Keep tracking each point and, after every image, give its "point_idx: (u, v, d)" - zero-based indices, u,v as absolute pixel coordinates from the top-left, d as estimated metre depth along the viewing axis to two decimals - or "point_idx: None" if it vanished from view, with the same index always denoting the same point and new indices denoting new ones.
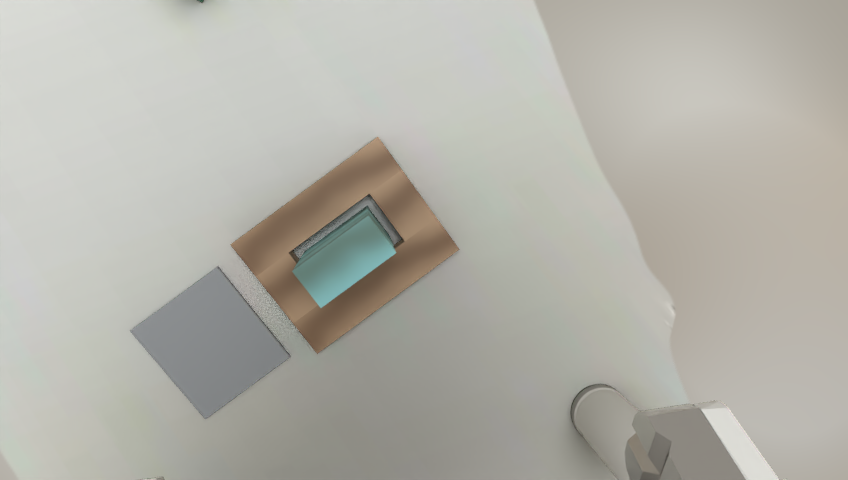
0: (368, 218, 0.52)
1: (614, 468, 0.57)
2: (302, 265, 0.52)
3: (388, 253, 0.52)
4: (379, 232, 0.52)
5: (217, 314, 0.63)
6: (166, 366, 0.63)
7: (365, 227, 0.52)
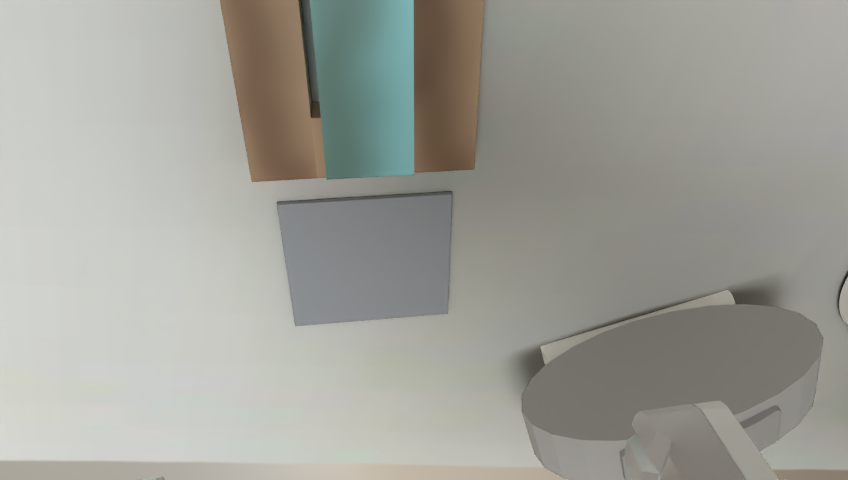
0: None
1: None
2: (327, 159, 0.27)
3: (405, 6, 0.24)
4: None
5: (338, 238, 0.43)
6: (361, 315, 0.48)
7: (328, 15, 0.24)
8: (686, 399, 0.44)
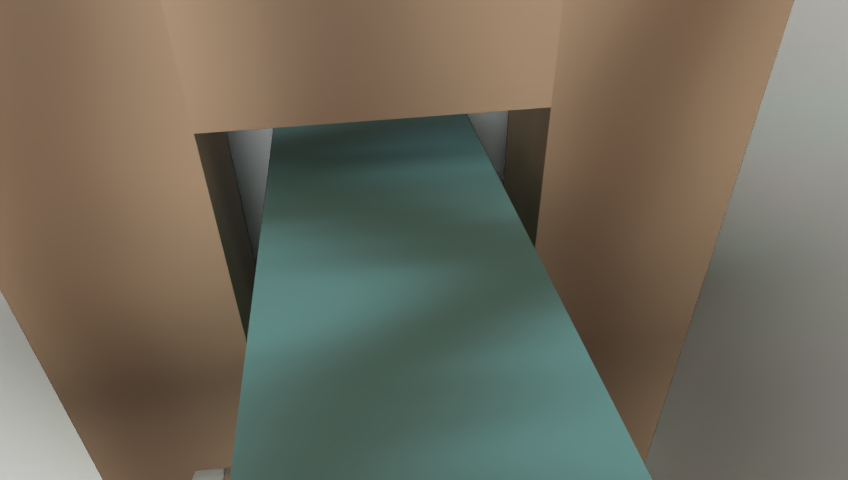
0: None
1: None
2: None
3: None
4: None
5: None
6: None
7: None
8: None
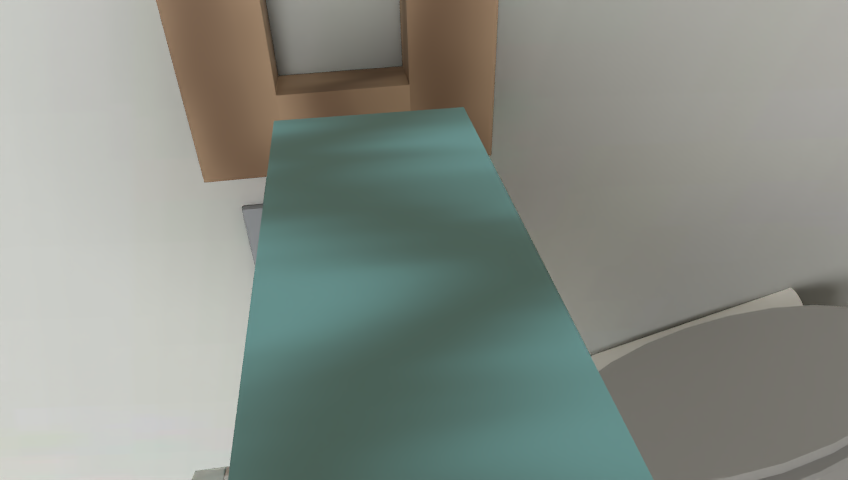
0: None
1: None
2: None
3: None
4: None
5: None
6: None
7: None
8: (758, 428, 0.36)
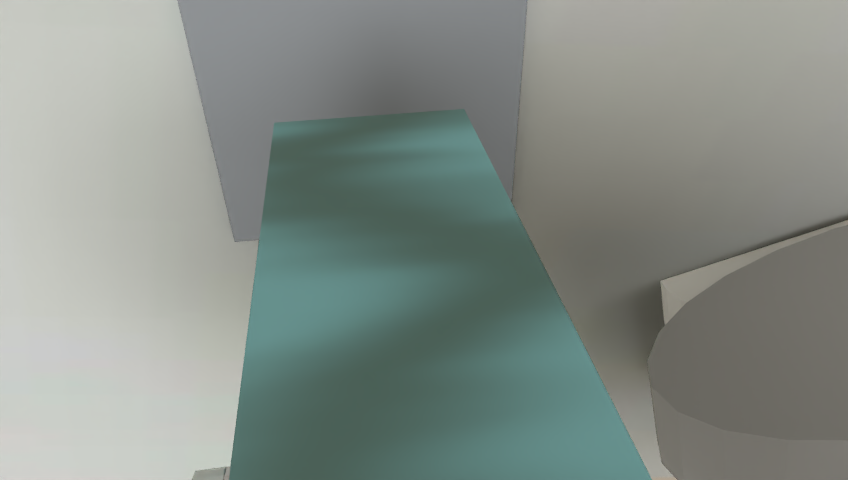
0: None
1: None
2: None
3: None
4: None
5: (303, 49, 0.22)
6: None
7: None
8: None
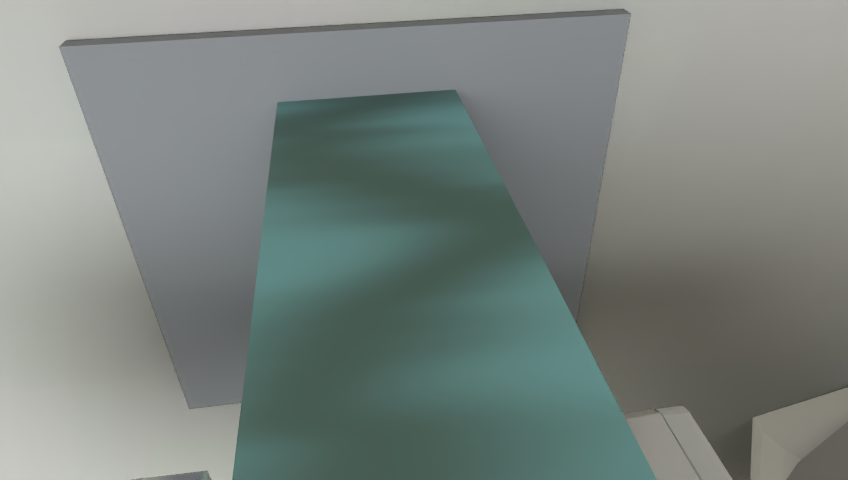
0: None
1: None
2: None
3: None
4: None
5: None
6: None
7: None
8: None
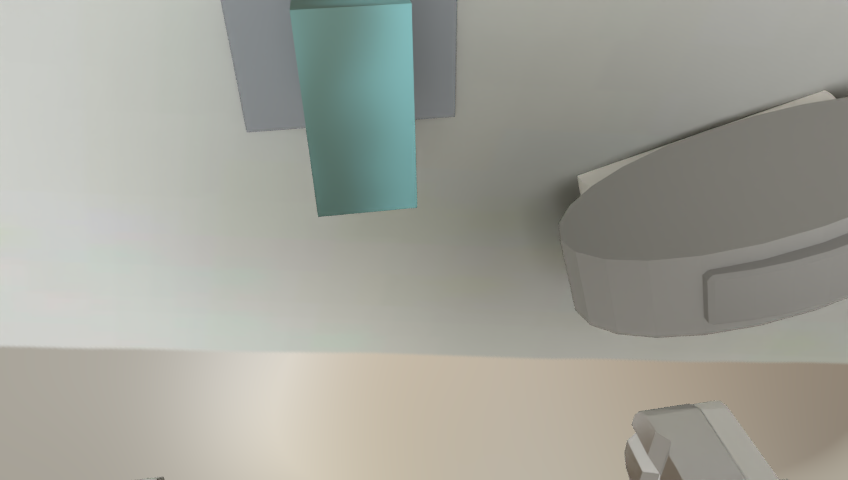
0: (297, 14, 0.20)
1: None
2: (318, 194, 0.24)
3: (402, 21, 0.21)
4: (343, 10, 0.20)
5: None
6: None
7: (313, 34, 0.20)
8: (794, 200, 0.32)
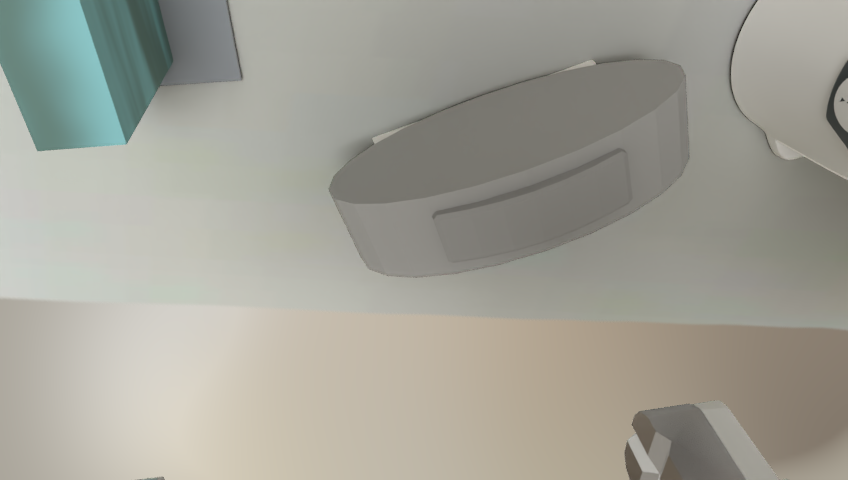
0: None
1: None
2: (32, 131, 0.28)
3: None
4: None
5: None
6: None
7: None
8: (514, 150, 0.36)
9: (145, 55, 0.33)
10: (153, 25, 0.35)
